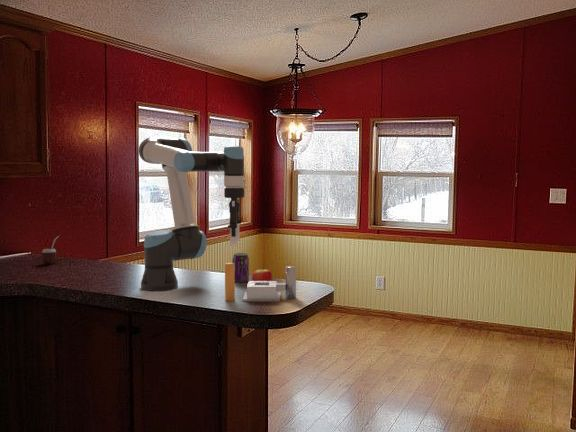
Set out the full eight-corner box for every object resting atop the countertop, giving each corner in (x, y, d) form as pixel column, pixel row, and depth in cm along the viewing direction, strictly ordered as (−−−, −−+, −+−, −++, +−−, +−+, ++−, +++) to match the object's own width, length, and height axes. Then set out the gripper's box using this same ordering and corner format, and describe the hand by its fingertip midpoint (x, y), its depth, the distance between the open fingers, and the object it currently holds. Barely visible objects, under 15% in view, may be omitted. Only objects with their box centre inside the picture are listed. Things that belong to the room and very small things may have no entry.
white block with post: (242, 301, 225) (242, 269, 224) (245, 294, 237) (244, 264, 236) (296, 301, 225) (296, 269, 224) (295, 294, 237) (295, 264, 236)
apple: (264, 290, 245) (264, 266, 244) (247, 288, 249) (247, 264, 248) (275, 287, 252) (275, 263, 251) (259, 285, 256) (259, 261, 255)
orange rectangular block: (224, 301, 226) (224, 264, 224) (225, 299, 229) (225, 262, 228) (234, 301, 226) (233, 264, 224) (235, 299, 229) (234, 262, 228)
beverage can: (246, 283, 260) (246, 255, 259) (230, 282, 262) (230, 255, 260) (250, 279, 267) (250, 253, 266) (235, 279, 268) (235, 252, 267)
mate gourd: (40, 264, 310) (38, 235, 309) (55, 262, 315) (54, 234, 314) (45, 266, 304) (44, 236, 303) (61, 264, 310) (60, 235, 308)
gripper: (242, 188, 215) (243, 247, 217) (245, 186, 240) (246, 238, 241) (221, 188, 215) (222, 247, 216) (226, 186, 240) (227, 239, 241)
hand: (234, 243), depth 229 cm, fingers open, 13 cm apart
